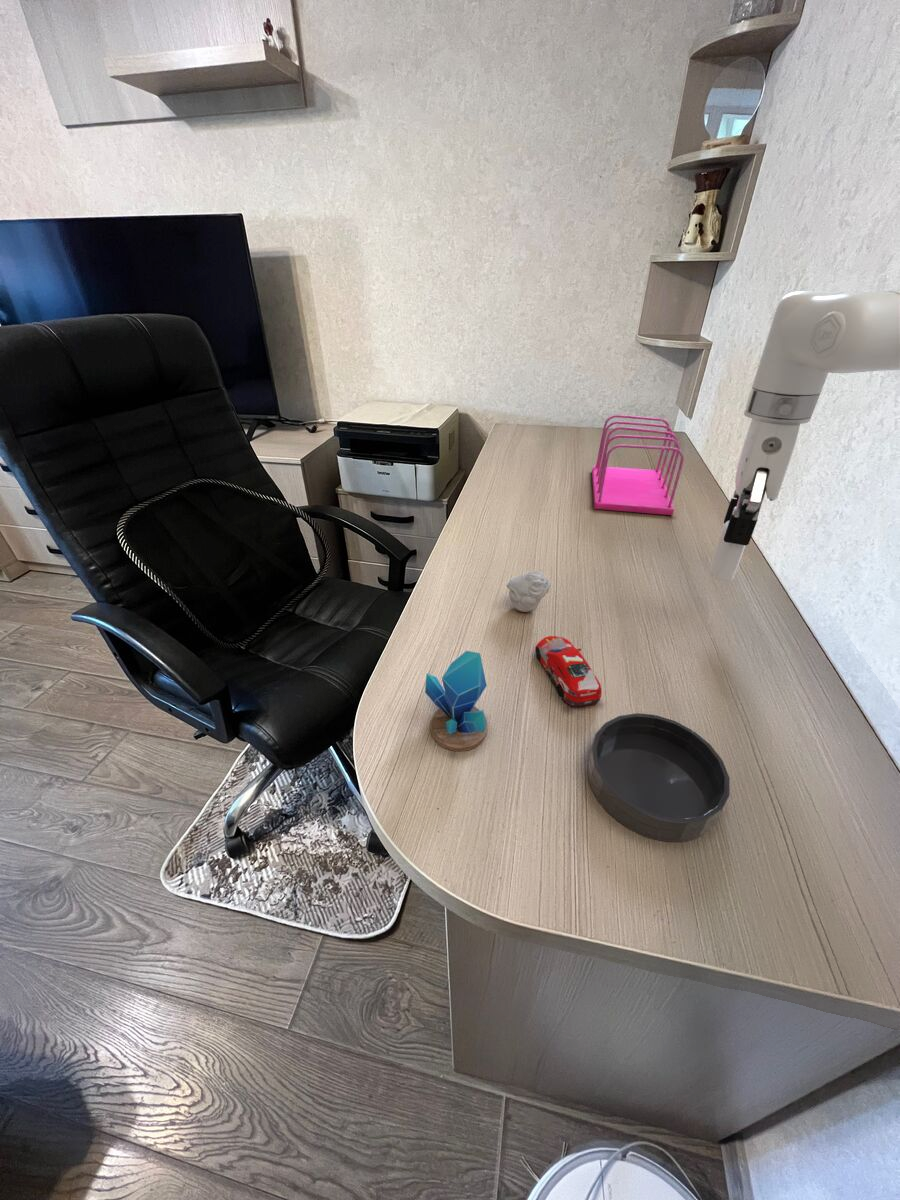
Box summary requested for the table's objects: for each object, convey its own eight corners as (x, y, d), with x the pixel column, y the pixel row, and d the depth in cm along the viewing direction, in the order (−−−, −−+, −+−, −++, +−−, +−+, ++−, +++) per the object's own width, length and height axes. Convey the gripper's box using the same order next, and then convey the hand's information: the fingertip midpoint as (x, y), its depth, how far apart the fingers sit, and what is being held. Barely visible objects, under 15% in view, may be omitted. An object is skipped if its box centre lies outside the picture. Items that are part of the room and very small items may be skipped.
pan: (720, 757, 59) (729, 737, 57) (718, 865, 49) (729, 845, 47) (600, 718, 64) (605, 699, 62) (575, 809, 53) (580, 789, 51)
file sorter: (658, 477, 133) (673, 416, 125) (672, 516, 113) (692, 447, 104) (591, 472, 136) (602, 412, 127) (593, 509, 116) (606, 442, 107)
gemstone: (479, 699, 67) (483, 628, 60) (493, 752, 59) (499, 678, 53) (424, 704, 66) (422, 633, 59) (432, 759, 59) (430, 684, 52)
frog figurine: (545, 622, 80) (550, 586, 76) (502, 616, 82) (505, 580, 78) (548, 601, 85) (553, 566, 81) (507, 596, 87) (510, 561, 83)
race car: (530, 648, 75) (532, 627, 73) (563, 643, 76) (567, 622, 74) (565, 713, 65) (570, 690, 62) (604, 706, 66) (610, 684, 63)
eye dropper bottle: (743, 572, 78) (770, 499, 71) (727, 585, 74) (755, 510, 68) (715, 562, 80) (738, 490, 74) (699, 574, 77) (722, 500, 70)
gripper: (824, 424, 56) (767, 565, 66) (806, 394, 69) (760, 516, 79) (749, 417, 58) (705, 554, 68) (745, 390, 71) (708, 508, 81)
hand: (735, 532), depth 73 cm, fingers closed on eye dropper bottle, 5 cm apart
